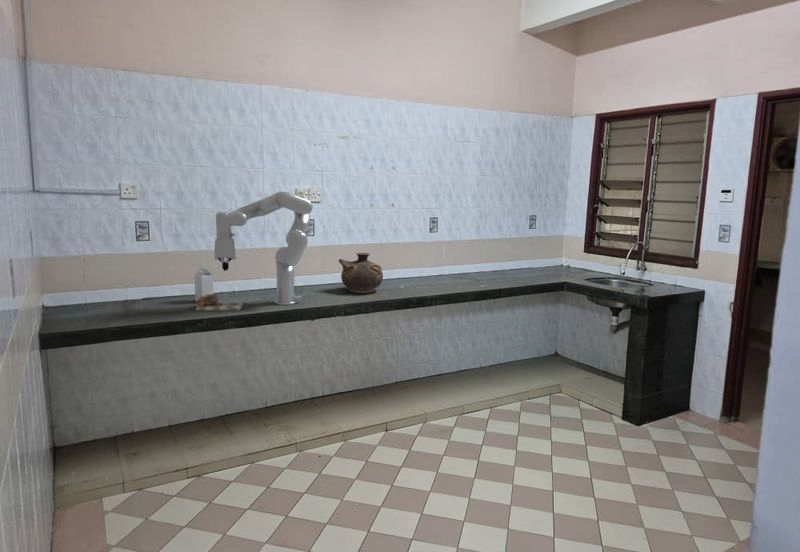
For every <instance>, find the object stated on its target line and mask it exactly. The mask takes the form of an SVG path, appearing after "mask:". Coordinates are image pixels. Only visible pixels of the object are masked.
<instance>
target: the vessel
mask: <svg viewBox="0 0 800 552" xmlns="http://www.w3.org/2000/svg"><path fill="white" fill-rule="evenodd" d="M356 255H357V260H352V261H350V260H345V259H342V258H339V259H338V263H339V264H340V265H341V267H342V272H341V274H340V276H341V282H342V284H343V285H344V286H345V287H346V288H347V289H348V290H349V292H351V293H353V292H355V294H370V293H371V292H372V293H374V292H375V290H376V289H377V288H379V286H381V285H382V282H383V280H384V274H383V270H382V266H380V264H377V263H375V262H373V261H371V260H368V257H369V256H370V255H371V253H368V252H356Z"/></svg>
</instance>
